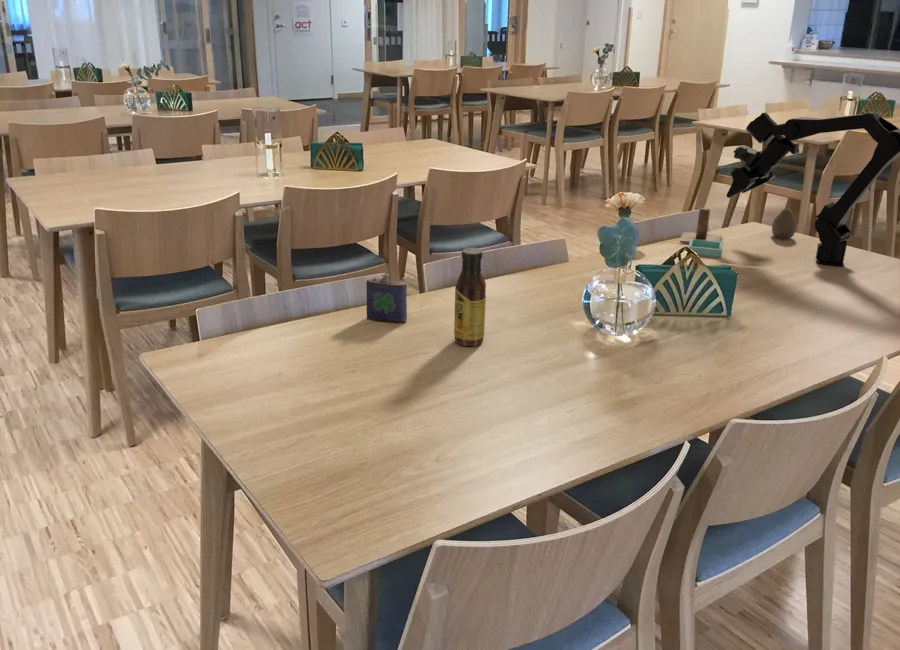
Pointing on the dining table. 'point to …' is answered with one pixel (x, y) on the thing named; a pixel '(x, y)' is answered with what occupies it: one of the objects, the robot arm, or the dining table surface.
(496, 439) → the dining table surface
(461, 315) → the sauce bottle
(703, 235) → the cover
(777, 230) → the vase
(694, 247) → the dish
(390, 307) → the flask
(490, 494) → the dining table surface
